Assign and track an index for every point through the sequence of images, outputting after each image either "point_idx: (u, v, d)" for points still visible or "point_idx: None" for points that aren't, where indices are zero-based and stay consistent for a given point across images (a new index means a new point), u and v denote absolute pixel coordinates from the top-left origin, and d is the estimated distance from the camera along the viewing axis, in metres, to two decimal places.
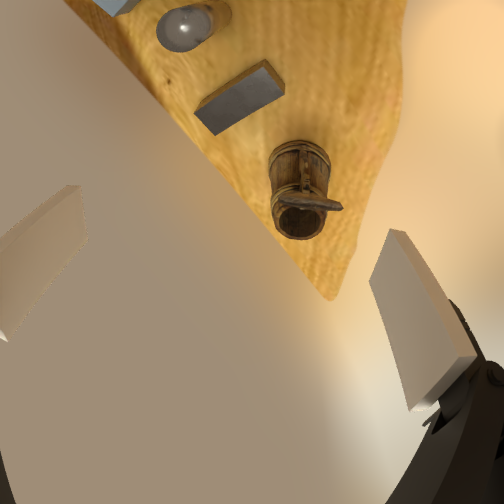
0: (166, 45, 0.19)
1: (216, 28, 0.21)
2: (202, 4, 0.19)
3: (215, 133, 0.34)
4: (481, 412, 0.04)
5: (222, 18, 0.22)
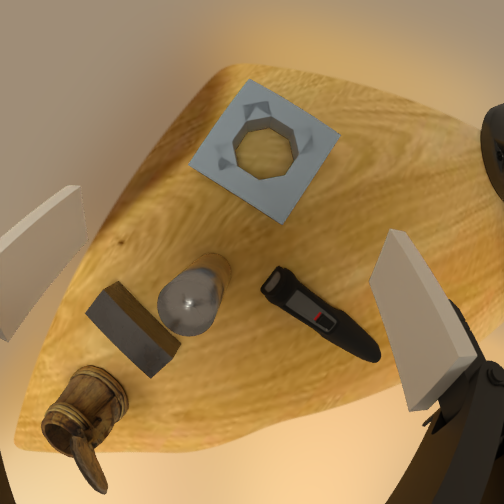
0: (162, 296, 0.19)
1: None
2: (223, 292, 0.24)
3: (87, 313, 0.28)
4: (481, 412, 0.04)
5: None
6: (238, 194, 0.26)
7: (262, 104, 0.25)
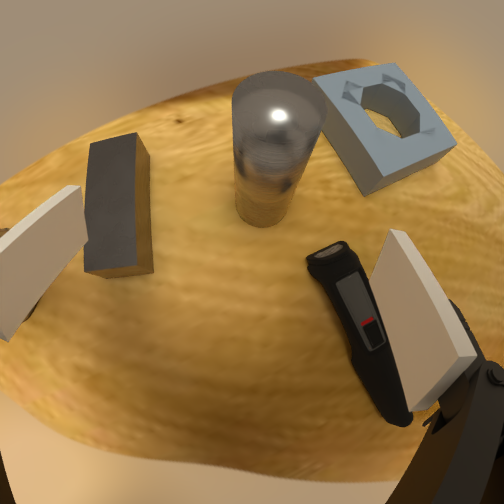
0: (257, 77, 0.12)
1: (250, 182, 0.15)
2: (302, 172, 0.16)
3: (92, 145, 0.20)
4: (481, 412, 0.04)
5: (262, 202, 0.17)
6: (351, 125, 0.20)
7: (399, 82, 0.22)
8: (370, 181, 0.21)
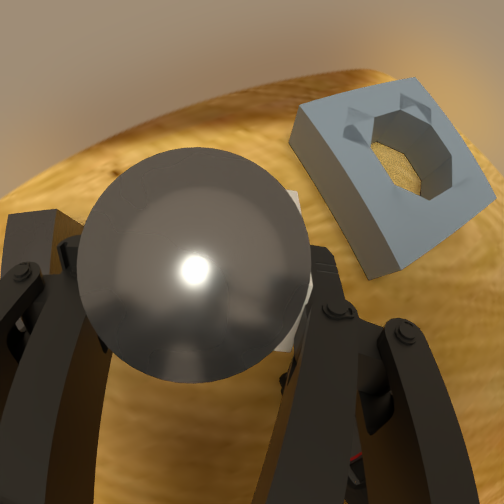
0: (137, 175, 0.05)
1: None
2: None
3: (10, 218, 0.13)
4: (321, 354, 0.06)
5: None
6: (356, 184, 0.14)
7: (423, 107, 0.15)
8: (380, 267, 0.15)
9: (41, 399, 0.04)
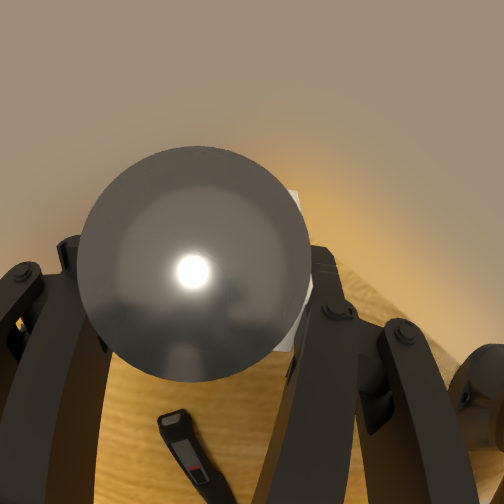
0: (138, 174, 0.05)
1: None
2: None
3: (22, 326, 0.24)
4: (321, 354, 0.06)
5: None
6: None
7: None
8: None
9: (41, 399, 0.04)
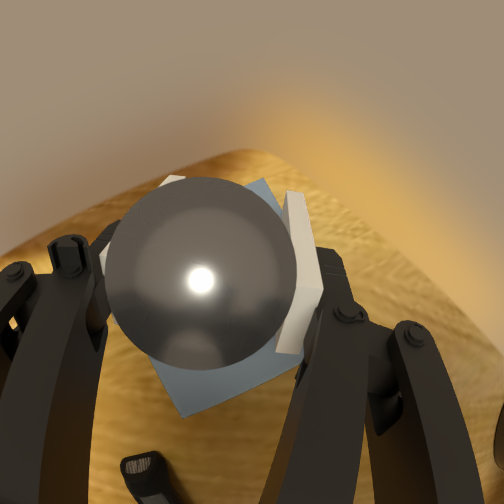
0: (154, 200, 0.06)
1: None
2: None
3: None
4: (332, 356, 0.06)
5: None
6: None
7: None
8: None
9: (34, 397, 0.04)
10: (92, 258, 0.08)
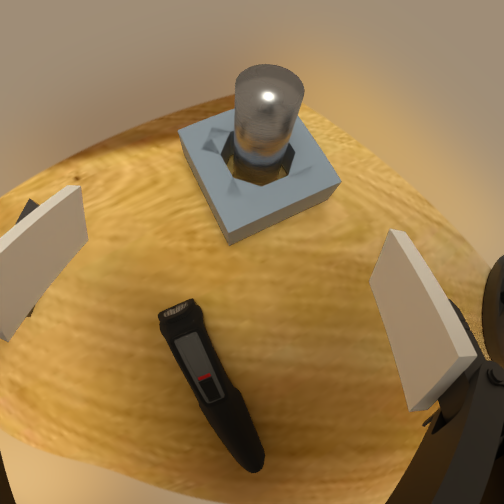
0: (253, 68, 0.16)
1: (247, 148, 0.19)
2: (287, 142, 0.20)
3: (29, 202, 0.21)
4: (481, 412, 0.04)
5: (256, 167, 0.22)
6: (203, 179, 0.22)
7: None
8: (226, 234, 0.24)
9: None
10: None
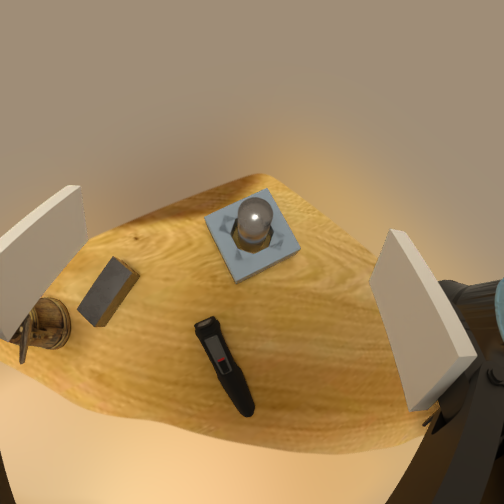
0: (246, 201, 0.34)
1: (245, 238, 0.38)
2: (267, 233, 0.38)
3: (113, 258, 0.40)
4: (481, 412, 0.04)
5: (250, 244, 0.40)
6: (221, 249, 0.41)
7: None
8: None
9: None
10: None
